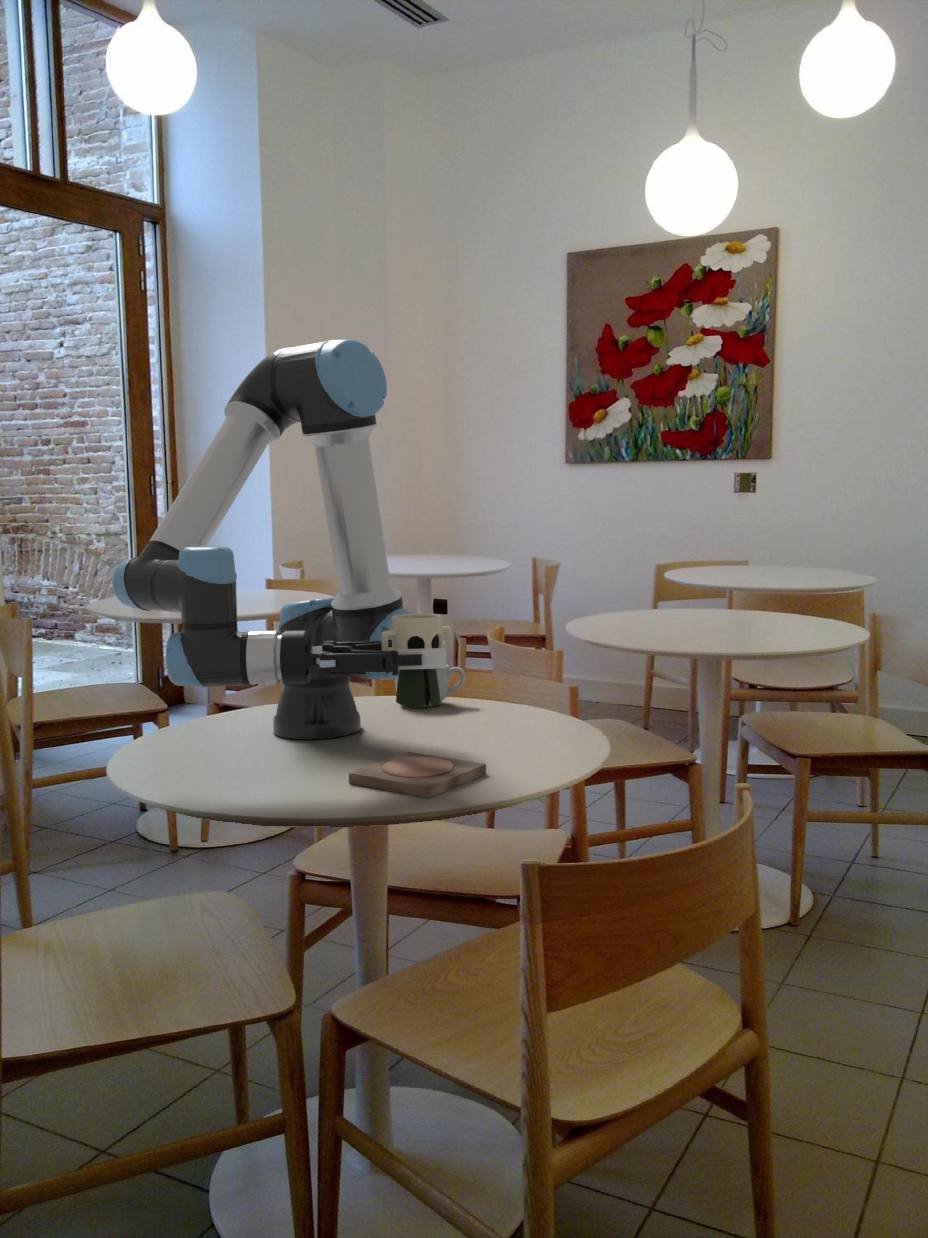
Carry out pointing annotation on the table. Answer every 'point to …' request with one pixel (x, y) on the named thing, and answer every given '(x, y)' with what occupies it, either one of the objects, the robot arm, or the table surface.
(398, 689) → the character mug
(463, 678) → the teacup
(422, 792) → the walnut board
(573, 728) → the table surface
